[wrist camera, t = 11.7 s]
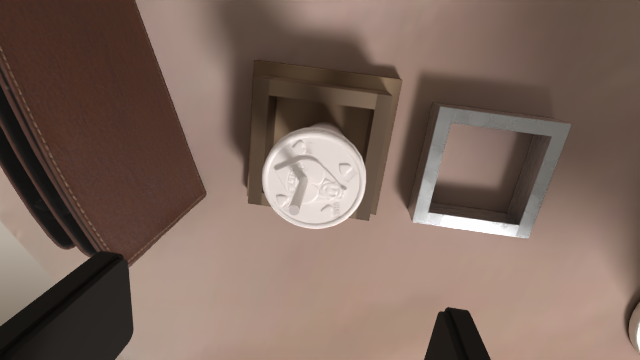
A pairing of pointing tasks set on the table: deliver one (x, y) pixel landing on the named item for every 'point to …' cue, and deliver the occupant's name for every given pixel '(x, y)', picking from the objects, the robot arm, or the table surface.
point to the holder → (529, 184)
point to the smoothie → (314, 177)
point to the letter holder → (91, 126)
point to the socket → (322, 118)
